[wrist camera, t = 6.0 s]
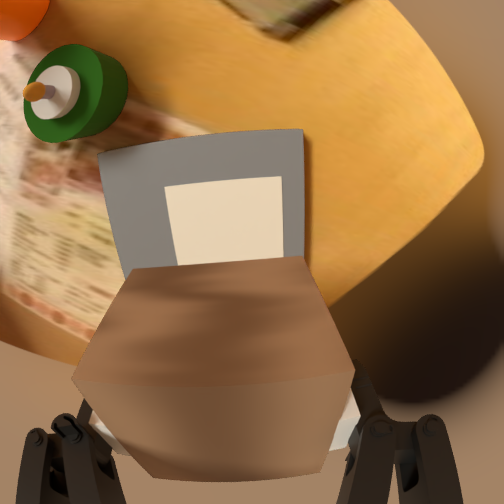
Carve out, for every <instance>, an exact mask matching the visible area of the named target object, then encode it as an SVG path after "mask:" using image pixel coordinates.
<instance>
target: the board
mask: <svg viewBox="0 0 504 504" xmlns="http://www.w3.org/2000/svg"><path fill="white" fill-rule="evenodd" d="M97 156H98V163H99V169H100V175H101V181H102V186H103V191H104V197H105V201H106V206H107V211H108V215H109V220H110V224H111V228H112V233H113V237H114V241H115V245H116V248H117V252H118V256H119V259H120V263H121V266H122V270H123V273H124V277H125V280H126V279H127V277H128V276H129V274H130V272H131V271H132V269H137V268H151V267H164V266H178V265H191V264H204V263H217V262H230V261H243V260H255V259H268V258H280V257H292V256H303V258H304V220H305V199H304V145H303V129H275V130H254V131H239V132H227V133H216V134H207V135H198V136H190V137H182V138H175V139H169V140H162V141H156V142H150V143H145V144H139V145H134V146H129V147H124V148H119V149H115V150H110V151H106V152H102V153H99V154H97Z"/></svg>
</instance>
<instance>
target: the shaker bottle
mask: <svg viewBox="0 0 504 504" xmlns="http://www.w3.org/2000/svg"><path fill="white" fill-rule="evenodd" d="M49 3H50V0H0V40H8V41H18V40H21V39H23V38H24V37H26V36H27V35H29V34H30V33H31V32H32V31H33V30H34V29H35V28H36V27H37V26H38V24H39V23H40V22H41V20H42V19H43V17H44V15H45V13H46V11H47V9H48V6H49Z"/></svg>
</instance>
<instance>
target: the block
mask: <svg viewBox="0 0 504 504" xmlns="http://www.w3.org/2000/svg"><path fill="white" fill-rule="evenodd" d="M354 373H355V368H354V366H353V363H352V361H351V359H350V357H349V354H348V352H347V350H346V348H345V345H344V343H343V341H342V339H341V337H340V334H339V332H338V330H337V328H336V325H335V323H334V321H333V319H332V317H331V315H330V312H329V310H328V308H327V306H326V304H325V302H324V300H323V297H322V295H321V293H320V291H319V289H318V287H317V285H316V283H315V281H314V279H313V277H312V275H311V273H310V270H309V268H308V266H307V264H306V262H305V260H304V258H303V256H292V257H280V258H268V259H255V260H243V261H230V262H217V263H204V264H191V265H178V266H164V267H151V268H137V269H132V271H131V272H130V274H129V276H128V277H127V279H126V280H125V282H124V284H123V285H122V287H121V288H120V290H119V292H118V293H117V295H116V297H115V298H114V300H113V302H112V304H111V305H110V307H109V309H108V310H107V312H106V314H105V316H104V317H103V319H102V321H101V323H100V324H99V326H98V328H97V330H96V332H95V334H94V335H93V337H92V339H91V341H90V343H89V345H88V347H87V348H86V350H85V352H84V354H83V356H82V358H81V360H80V362H79V364H78V366H77V368H76V370H75V372H74V374H73V376H72V378H71V379H72V381H73V382H74V384H75V385H76V387H77V388H78V390H79V391H80V393H81V394H82V395H83V397H84V398H85V400H86V401H87V403H88V404H89V405H90V407H91V408H92V409H93V411H94V412H95V413H96V415H97V416H98V417H99V419H100V420H101V421H102V422H103V424H104V425H105V426H106V427H107V428H108V430H109V431H110V432H111V433H112V435H113V436H114V437H115V438H116V439H117V441H118V442H119V443H120V444H121V445H122V446H123V447H124V448H125V450H126V451H127V452H128V453H129V454H130V455H131V456H132V457H133V458H134V459H135V460H136V461H137V462H138V463H139V464H140V465H141V466H142V467H143V468H144V469H145V470H146V471H147V472H148V473H149V474H150V475H151V476H152V477H153V478H159V479H168V480H180V481H197V482H241V481H258V480H270V479H280V478H287V477H295V476H302V475H308V474H313V473H319V472H320V471H321V469H322V466H323V464H324V461H325V459H326V456H327V454H328V451H329V449H330V446H331V444H332V441H333V438H334V434H335V431H336V428H337V425H338V422H339V420H340V419H341V416H342V413H343V410H344V407H345V403H346V400H347V397H348V394H349V390H350V387H351V384H352V380H353V377H354Z"/></svg>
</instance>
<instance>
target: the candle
mask: <svg viewBox="0 0 504 504" xmlns="http://www.w3.org/2000/svg"><path fill="white" fill-rule="evenodd" d="M127 93H128V80H127V75H126V73H125V70H124V68H123V67H122V65H121V64H120V63H119V62H118V61H117V60H115V59H114V58H112V57H110V56H107V55H105V54H103V53H100V52H98V51H95V50H93V49H90V48H88V47H85V46H83V45H79V44H70V45H64V46H62V47H59V48H57V49H55V50H54V51H52V52H50V53H49V54H48V55H47V56H46V57H44V58H43V59H42V60H41V62H40V63H39V64H38V65H37V66H36V68H35V70H34V71H33V73H32V75H31V77H30V79H29V81H28V83H27V86H26V87H25V88H24V90H23V97H24V115H25V119H26V122H27V125H28V127H29V128H30V130H31V132H32V133H33V134H34V135H35V136H36V137H37V138H39V139H41V140H42V141H45V142H49V143H58V142H62V141H67V140H72V139H77V138H82V137H87V136H92V135H96V134H98V133H100V132H102V131H104V130H105V129H107V128H108V127H109V126H110V125H111V124H112V123H113V122H114V121H115V120H116V119H117V117H118V116H119V115H120V113H121V111H122V109H123V107H124V105H125V102H126V99H127Z"/></svg>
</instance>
